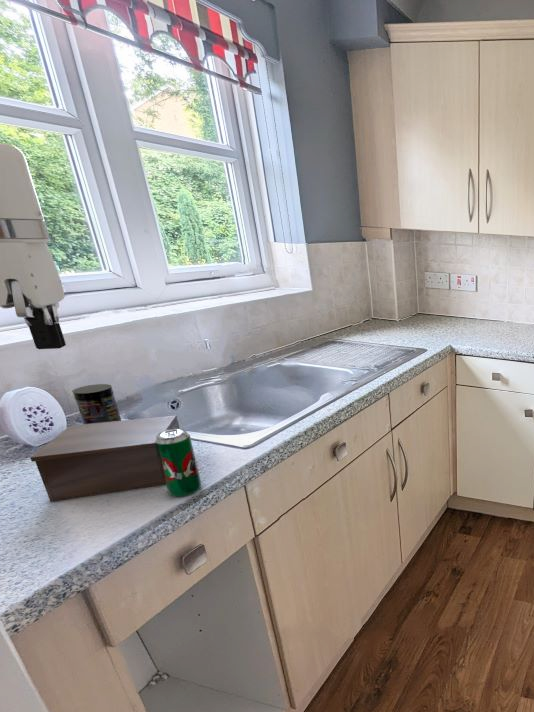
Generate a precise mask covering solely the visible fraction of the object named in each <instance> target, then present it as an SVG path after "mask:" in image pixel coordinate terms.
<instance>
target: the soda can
mask: <svg viewBox="0 0 534 712" xmlns="http://www.w3.org/2000/svg"><path fill="white" fill-rule="evenodd" d="M156 437H157V439H156V441H155V444H156V448H157V452H158V456H159V459H160V463H161V467H162V471H163V474H164V478H165V482H166V489H167V493H168V495H170V496H172V497H176V498H177V497H186V496H190V495H193V494H194V493H196V492H198V491H199V490H200V488H201V487H202V481H201V477H200V471H199V468H198V463H197V459H196V455H195V451H194V446H193V442H192V438H191V435H190V434H189V433H188V432H187V430H186V429H185V428H180V429H170V430H166V431H163V432H160V433H158V434H157V435H156Z"/></svg>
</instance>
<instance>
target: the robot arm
mask: <svg viewBox="0 0 534 712" xmlns="http://www.w3.org/2000/svg"><path fill="white" fill-rule="evenodd" d="M51 242H52V240H51V238H50V234H49V230H48V226H47V224H46V220H45V217H44V214H43V211H42V208H41V204H40V201H39V198H38V194H37V191H36V188H35V184H34V181H33V177H32V175H31V172H30V168H29V165H28V161H27V158H26V157H25V155H24V153H23V151H22V150H20V149H19V148H18V147H16V146H14V145H12V144H9V143H4V142H0V308H2V309H12V308H14V309H15V310H14V311H15V315H16V317H17V318H22V319H24V322H25V325H27V326H28V328H29V331H30V335H31V337H32V340H33V343H34V347H35V348H36V349H37V350H54V349H55V350H57V349H61V348H63V347H65V346H67V343H66V340H65V337H64V334H63V331H62V327H61V325H60V318H59V313H58V308H59V307H60V302H61V301H63V300H64V299H65V291H64V287H63V284H62V279H61V277H60V274H59V271H58V268H57V265H56V263H55V261H54V257H53V255H52V253H51V251H50V248H49V246H48V244H47V243H51Z"/></svg>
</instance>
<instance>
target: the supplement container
mask: <svg viewBox="0 0 534 712" xmlns="http://www.w3.org/2000/svg"><path fill="white" fill-rule="evenodd" d="M71 392H72V396H73V399H74V401H75V404H76V408H77V410H78V414H79V417H80V419H81V420H80V421H81V422H82V424H92V423H102V422H113V421H122V418H121V415H120V412H119V407H118V404H117V401H116V398H115V394H114V390H113V387H112V385H111V384H108V383H98V384H97V383H96V384H89V385H83V386H79V387H77V388H74V389H73V390H72V391H71Z"/></svg>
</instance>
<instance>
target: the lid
mask: <svg viewBox="0 0 534 712" xmlns="http://www.w3.org/2000/svg"><path fill="white" fill-rule="evenodd" d="M177 419H178V415H176V414H175V415H165V416H155V417H145V418H135V419H133V418H132V419H124V420H121V421H113V422H102V423H92V424H83V423H82V424H73V425H69V426H67V428H65V429H64V430H62V432H60V433H59V434H58V435H56V436H55V437H54V438H52V439H51V440H50V441H49V442H48V443H46V444H45V445H44V446H43V447H41V448H40V449H38V451H36V453H34V454H33V455H31V456H30V462H35V461H41V460H50V459H58V458H66V457H75V456H83V455H91V454H100V453H108V452H116V451H125V450H133V449H141V448H150V447H156V444H155V441H156V439H157V437H156V435H157V434H158V433H160V432H163V431H166V430H170V428H171V427H172V425H173V424H174V422H175V421H176V420H177Z"/></svg>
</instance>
